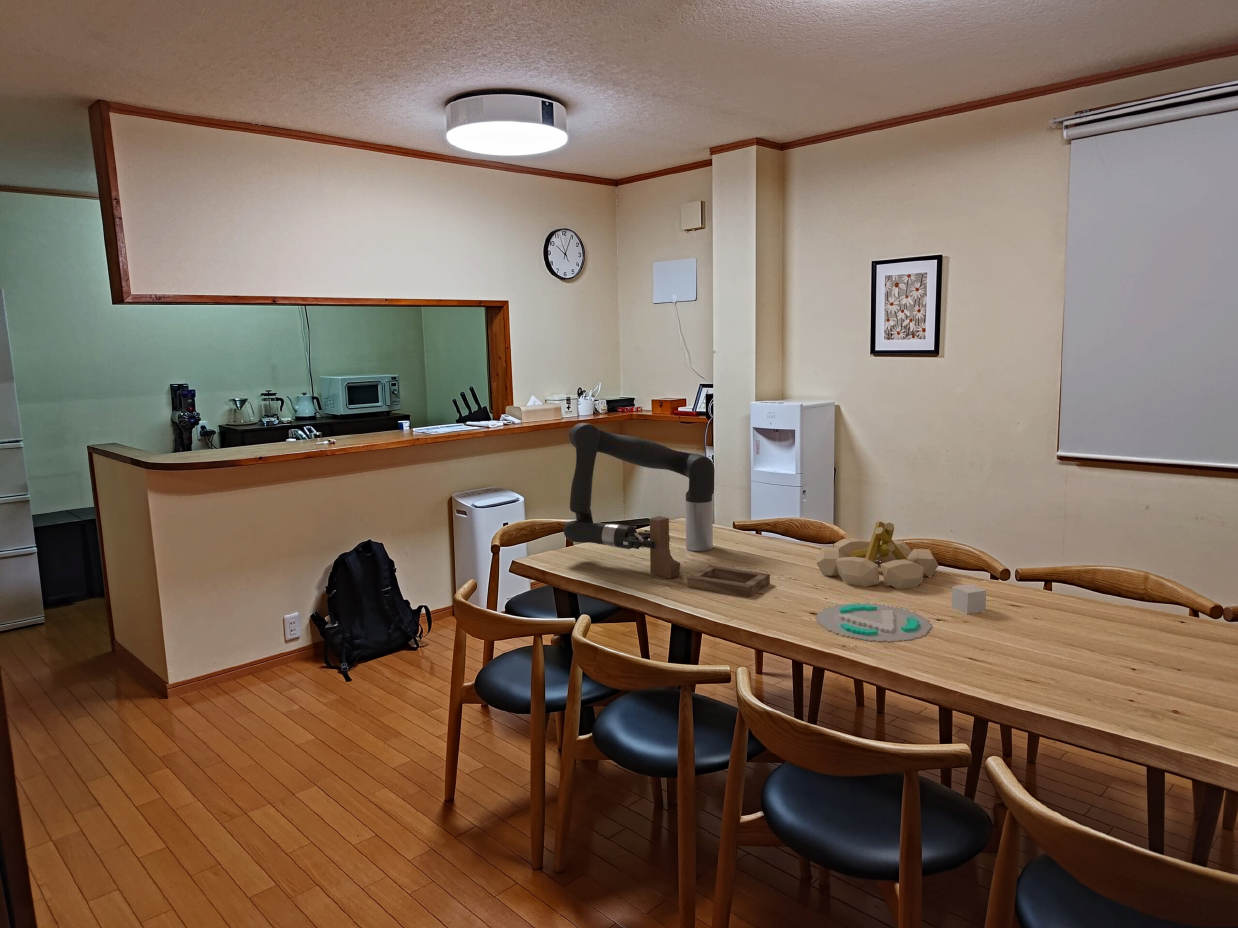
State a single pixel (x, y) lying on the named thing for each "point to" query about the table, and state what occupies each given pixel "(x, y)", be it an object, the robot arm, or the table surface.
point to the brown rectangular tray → (706, 581)
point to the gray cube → (968, 598)
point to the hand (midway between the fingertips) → (662, 541)
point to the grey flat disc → (873, 622)
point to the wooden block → (662, 549)
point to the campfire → (859, 556)
